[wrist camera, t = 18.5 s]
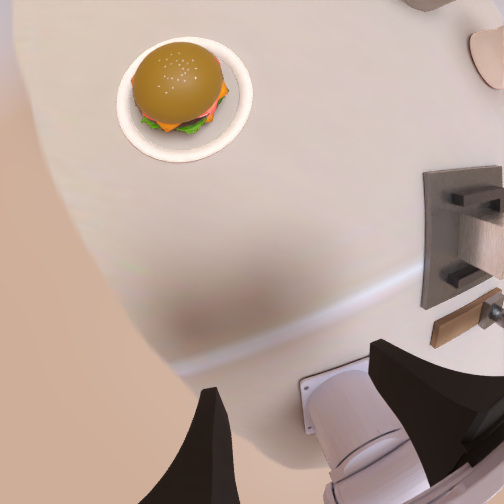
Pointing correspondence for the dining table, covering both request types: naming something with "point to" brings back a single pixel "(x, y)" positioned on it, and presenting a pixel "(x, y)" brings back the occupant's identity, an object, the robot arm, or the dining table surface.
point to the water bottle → (489, 55)
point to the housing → (483, 240)
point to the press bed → (454, 227)
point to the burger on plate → (182, 94)
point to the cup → (427, 4)
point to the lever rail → (459, 321)
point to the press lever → (492, 311)
